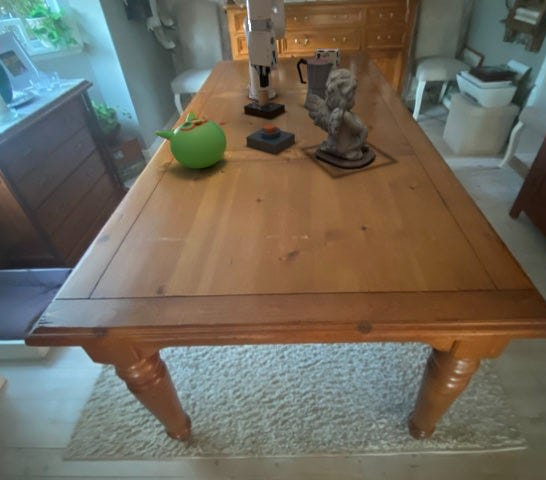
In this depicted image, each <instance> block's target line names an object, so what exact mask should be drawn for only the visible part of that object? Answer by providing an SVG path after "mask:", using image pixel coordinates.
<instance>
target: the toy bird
mask: <svg viewBox="0 0 546 480" xmlns="http://www.w3.org/2000/svg"><path fill="white" fill-rule="evenodd" d="M155 135H156V136H158V137H160V138H162V139H164V140H167V141H169V148H170V152H171V154H172V156H173V158H174V159H175V160H176V161H177V162H178V163H179V164H180V165H181V166H183V167H186V168H189V169H196V170H197V169H205V168H208V167H211V166H213V165H215V164H216V163H218V162H219V161H220V160H221V158H222V157H223V156H224V154H225V153H226V149H227V143H228V141H227V137H226V134H225V132H224V130H223V129H222V127H221V126H220V125H219V124H218V123H216V122H214V121H213V120H210V119H206V118H197V117H196V115H195V112H194V110H189V112H188V113H187V116H186V120H185V122H182V123H181V124H179V125H178V126H177V127H176V128H175V129H161V130H157V131H155Z"/></svg>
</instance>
